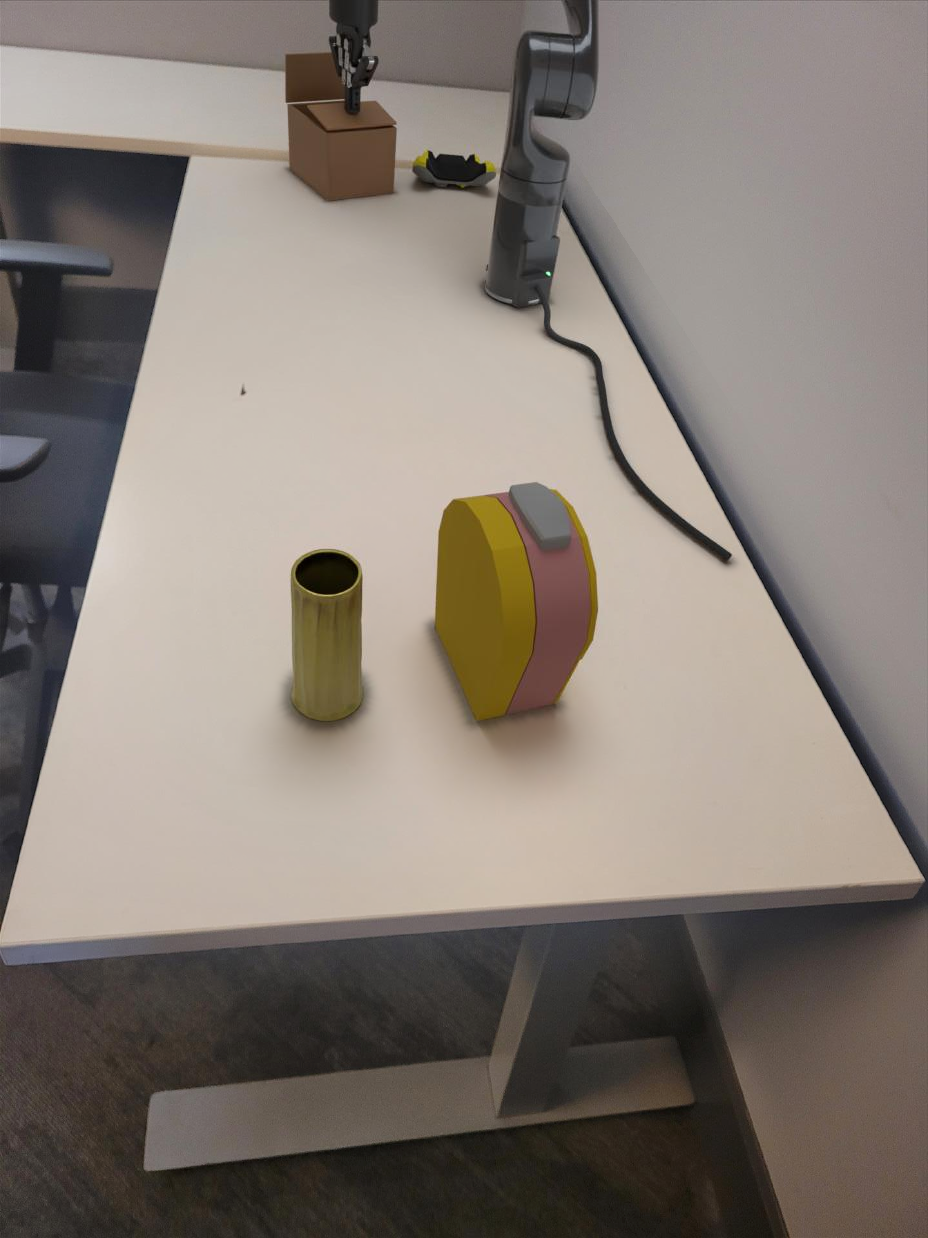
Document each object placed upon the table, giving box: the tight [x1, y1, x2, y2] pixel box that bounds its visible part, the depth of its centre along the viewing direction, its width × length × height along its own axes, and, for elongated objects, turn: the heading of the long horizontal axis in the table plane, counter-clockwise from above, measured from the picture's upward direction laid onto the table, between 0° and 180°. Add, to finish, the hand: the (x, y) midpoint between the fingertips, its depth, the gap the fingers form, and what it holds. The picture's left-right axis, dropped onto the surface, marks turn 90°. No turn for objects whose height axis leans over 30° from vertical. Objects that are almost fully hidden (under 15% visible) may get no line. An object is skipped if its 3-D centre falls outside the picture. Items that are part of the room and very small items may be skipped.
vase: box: [290, 548, 365, 722], centre depth 67 cm, size 6×6×14 cm
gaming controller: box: [411, 149, 497, 188], centre depth 155 cm, size 15×6×10 cm
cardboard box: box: [284, 51, 398, 202], centre depth 146 cm, size 16×13×18 cm
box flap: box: [307, 100, 398, 130], centre depth 142 cm, size 7×13×1 cm, turn 123°
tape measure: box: [434, 481, 599, 722], centre depth 70 cm, size 15×8×18 cm, turn 20°
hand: (352, 111), depth 142 cm, fingers closed
